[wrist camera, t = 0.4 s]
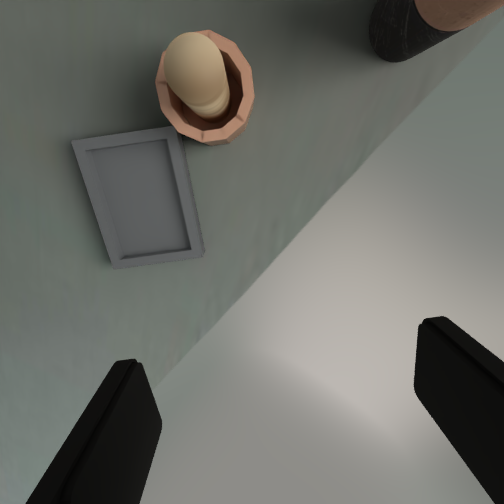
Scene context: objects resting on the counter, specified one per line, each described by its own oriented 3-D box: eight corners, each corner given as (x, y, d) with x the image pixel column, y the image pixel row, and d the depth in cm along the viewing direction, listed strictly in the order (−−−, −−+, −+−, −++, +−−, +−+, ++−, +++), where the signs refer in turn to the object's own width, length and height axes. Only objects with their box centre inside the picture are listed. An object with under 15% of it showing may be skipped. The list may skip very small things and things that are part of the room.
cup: (167, 65, 30) (145, 39, 24) (245, 53, 30) (245, 24, 24) (184, 149, 33) (169, 147, 27) (255, 139, 33) (258, 134, 26)
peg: (189, 83, 30) (156, 37, 19) (228, 77, 30) (218, 27, 19) (197, 125, 32) (171, 106, 20) (234, 120, 31) (228, 98, 20)
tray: (83, 142, 33) (70, 140, 30) (179, 127, 32) (174, 125, 30) (121, 262, 38) (113, 269, 36) (205, 251, 38) (202, 257, 35)
